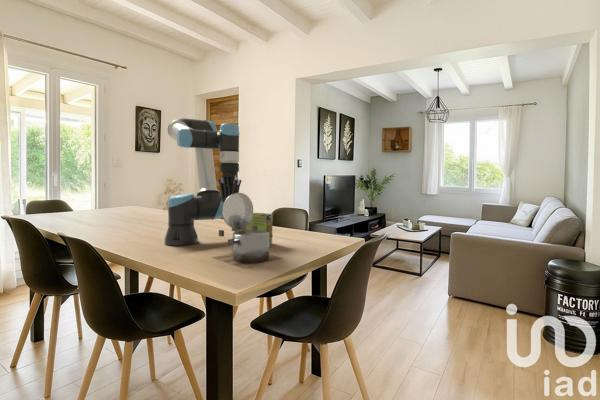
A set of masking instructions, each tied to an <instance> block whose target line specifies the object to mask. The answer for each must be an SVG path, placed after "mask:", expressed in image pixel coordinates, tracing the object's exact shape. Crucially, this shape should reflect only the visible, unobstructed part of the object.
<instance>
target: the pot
mask: <svg viewBox="0 0 600 400" xmlns="http://www.w3.org/2000/svg"><path fill="white" fill-rule="evenodd" d="M218 237H220V238H221V237H225V231H224V230H222V229H219V230H218ZM271 237H272V238H273V233H272V234H269V232H266V231H260V230H257V226H253V229H252V230H243V231H237V232H234V231H233V233H232V238H228V239H227V243H228V244H231V245H232V253H233V261H235V262H238V263H245V264H254V263H262V262H265V261H268V260H269V254H270V245H269V238H271ZM262 264H263V263H262Z"/></svg>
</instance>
